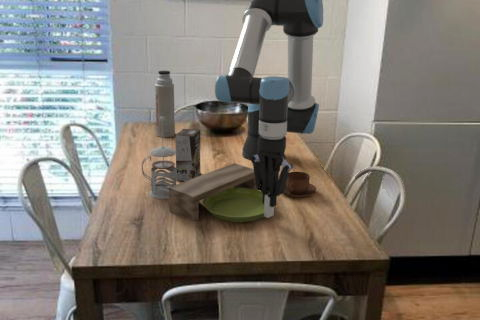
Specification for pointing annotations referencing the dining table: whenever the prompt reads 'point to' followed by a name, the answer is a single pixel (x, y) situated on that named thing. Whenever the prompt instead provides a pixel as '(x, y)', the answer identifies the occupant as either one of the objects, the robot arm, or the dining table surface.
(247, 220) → the green plate
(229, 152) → the dining table surface
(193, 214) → the stand
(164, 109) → the thermos bottle
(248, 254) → the dining table surface
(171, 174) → the french press
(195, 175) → the coffee box
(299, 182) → the cup and saucer
